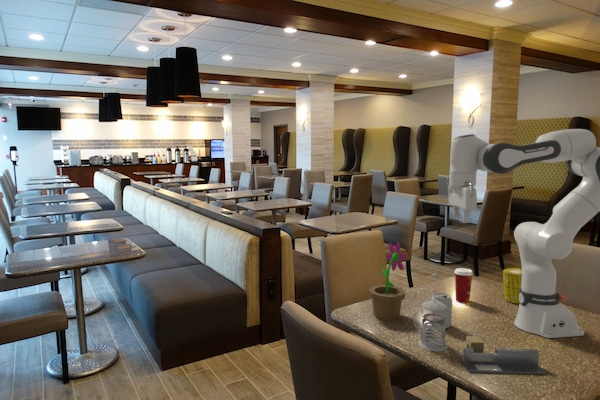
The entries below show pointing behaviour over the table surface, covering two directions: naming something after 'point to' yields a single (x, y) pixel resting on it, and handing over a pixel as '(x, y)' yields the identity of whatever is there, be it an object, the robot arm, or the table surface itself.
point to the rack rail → (503, 361)
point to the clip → (475, 343)
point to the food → (512, 284)
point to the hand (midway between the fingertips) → (461, 219)
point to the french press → (427, 336)
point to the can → (446, 313)
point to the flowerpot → (388, 290)
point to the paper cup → (463, 284)
